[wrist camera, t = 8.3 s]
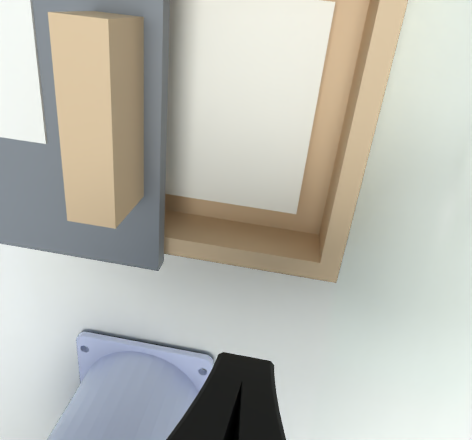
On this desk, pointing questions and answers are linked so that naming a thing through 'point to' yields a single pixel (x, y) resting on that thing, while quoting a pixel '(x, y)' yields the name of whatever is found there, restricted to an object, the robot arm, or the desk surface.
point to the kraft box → (272, 127)
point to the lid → (84, 128)
